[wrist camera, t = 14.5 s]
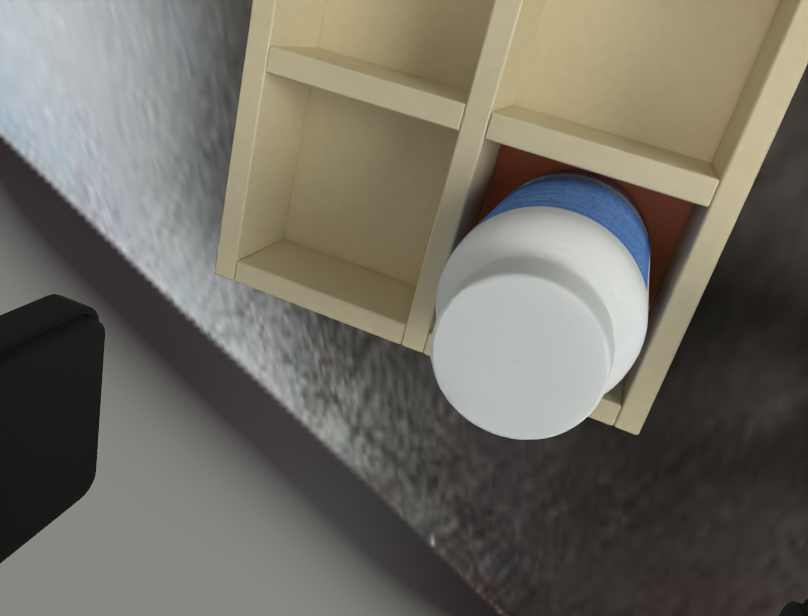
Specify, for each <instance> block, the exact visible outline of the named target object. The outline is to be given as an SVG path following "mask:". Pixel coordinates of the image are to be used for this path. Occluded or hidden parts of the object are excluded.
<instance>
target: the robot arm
mask: <svg viewBox="0 0 808 616" xmlns="http://www.w3.org/2000/svg"><path fill="white" fill-rule="evenodd" d="M104 339H105V329H104V327H103V324H101V323H100V322H99V317H98V315H97V313H96V311H95V310H94V309H93V308H91V307H89V306H86V305H84V304H81V303H79V302H76V301H73V300H71V299H68V298H66V297H63V296H61V295H56V294H53V295H49V296H46V297H43V298H41V299H39V300H36V301H34V302H31V303H29V304H27V305H24V306H22V307H19V308H17V309H15V310H13V311H10V312H8V313H5V314H3V315H0V563H1V562H2V561H4V560H5V559H6V558H7V557H9V556H10V555H11V554H12V553H14V552H15V551H16V550H17V549H19V548H20V547H21V546H22V545H24V544H25V543H26V542H27V541H29V540H30V539H31V538H32V537H34V536H35V535H36V534H37V533H38V532H40V531H41V530H42V529H43V528H45V527H46V526H47V525H48V524H50V523H51V522H52V521H53V520H55V519H56V518H57V517H58V516H60V515H61V514H62V513H63V512H64V511H66V510H67V509H68V508H70V507H71V506H72V505H73V504H74V503H76V502H77V501H78V500H80V499H81V498H82V497H83V496H84V495H85V494H86V492H87V491H88V490H89V488H90V487H91V484H92V483H93V480H94V478H95V473H96V460H97V446H98V431H99V415H100V401H101V385H102V371H103V354H104ZM779 616H808V599H807V600H806V601H805V602H804V603H803V604H800V603H798V602H795V601H791V602H789V603H788V604H787V605H786V606H785V607H784V608H783V610H782V611H781V613H780V614H779Z"/></svg>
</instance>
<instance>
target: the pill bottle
mask: <svg viewBox="0 0 808 616" xmlns="http://www.w3.org/2000/svg"><path fill="white" fill-rule="evenodd" d="M650 259H651V243H650V235H649V230H648V227H647V223H646V220H645V218H644V216H643V214H642V212H641V210H640V208H639V207H638V205H637V204H636V202H635V201H634V200H633V199H632V197H631V196H630V195H629V194H628V193H627V192H626V191H625V190H623V189H622V188H621V187H620V186H618V185H617V184H615V183H614V182H612V181H611V180H609V179H607V178H605V177H603V176H600V175H598V174H595V173H591V172H588V171H583V170H574V169H564V170H555V171H550V172H546V173H543V174H540V175H538V176H535V177H533V178H531V179H529V180H527V181H525V182H524V183H522V184H521V185H519V186H518V187H517V188H515V189H514V190H513V191H512V192H511V193H510V194H508V195H507V196H506V197H505V198H504V199H503V200H502V201H501V202H500V203H499V204H498V206H497V207H495V208H494V209H493V210H492V211H491V212H490V213H489V214H488V215H487V216H486V217H485V218H484V219H483V220H482V221H481V222H480V223H479V224H478V225H477V226H475V227H474V228H473V229H472V230H471V231H470V232H469V233H468V234H467V235H466V237H465V238H464V239H463V240H462V241H461V243H460V244H459V245H458V246H457V248H456V249H455V250H454V252H453V253H452V255H451V256H450V258H449V260H448V262H447V264H446V266H445V268H444V270H443V272H442V274H441V277H440V280H439V284H438V289H437V294H436V322H435V324H434V328H433V332H432V337H431V348H430V356H431V362H432V366H433V371H434V374H435V377H436V380H437V383H438V385H439V387H440V389H441V390H442V392H443V393H444V395H445V397H446V398H447V400H448V401H449V402H450V403H451V404H452V405H453V406H454V408H455V409H456V410H457V411H458V412H459V413H460V414H461V415H462V416H464V417H465V418H466V419H467V420H469V421H470V422H472V423H473V424H475V425H476V426H478V427H480V428H482V429H484V430H486V431H488V432H491V433H493V434H496V435H499V436H503V437H507V438H512V439H521V440H526V439H527V440H530V439H543V438H548V437H553V436H556V435H559V434H561V433H564V432H566V431H568V430H569V429H571V428H573V427H575V426H576V425H578V424H579V423H580V422H582V421H583V420H584V419H585V418H586V417H588V416H589V415H590V414H591V413H592V411H593V410H594V409H595V408H596V406H597V405H598V403H599V402H600V400H601V398H602V397H603V395H604V394H605V393H607V392H608V391H610V390H611V389H612V388H613V387H614V386H615V385H617V384H618V383H619V382H620V381H621V380H622V378H623V377H624V376H625V375H626V374H627V372H628V371H629V370H630V368H631V367H632V365H633V364H634V362H635V360H636V359H637V357H638V355H639V353H640V351H641V348H642V346H643V343H644V340H645V335H646V331H647V324H648V300H649V272H650Z"/></svg>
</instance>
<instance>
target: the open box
mask: <svg viewBox="0 0 808 616" xmlns="http://www.w3.org/2000/svg"><path fill="white" fill-rule="evenodd" d="M807 64H808V0H253V4H252V11H251V18H250V25H249V32H248V39H247V47H246V54H245V61H244V68H243V75H242V82H241V89H240V96H239V103H238V110H237V117H236V124H235V131H234V138H233V146H232V153H231V160H230V167H229V174H228V181H227V188H226V195H225V202H224V209H223V216H222V223H221V230H220V237H219V245H218V252H217V259H216V266H215V274H217V275H220V276H223V277H225V278H228V279H230V280H235V281H236V282H239V283H242V284H244V285H247V286H249V287H252V288H255V289H257V290H260V291H262V292H265V293H268V294H270V295H273V296H275V297H278V298H281V299H283V300H286V301H288V302H291V303H294V304H296V305H299V306H301V307H304V308H307V309H309V310H312V311H314V312H317V313H320V314H322V315H325V316H327V317H330V318H333V319H335V320H338V321H340V322H343V323H346V324H348V325H351V326H353V327H356V328H359V329H361V330H364V331H366V332H369V333H372V334H374V335H377V336H379V337H382V338H385V339H387V340H390V341H392V342H395V343H398V344H401V342H402V345H403V346H406V347H408V348H411V349H413V350H416V351H419V352H423V351H424V354H426V355H429V356H430V348H431V337H432V332H433V328H434V324H435V322H436V294H437V289H438V284H439V280H440V277H441V274H442V272H443V270H444V268H445V266H446V264H447V262H448V260H449V258H450V256H451V255H452V253H453V252H454V250H455V249H456V248H457V246H458V245H459V244H460V243H461V241H462V240H463V239H464V238H465V237H466V235H467V234H468V233H469V232H470V231H471V230H472V229H473V228H474V227H475V226H477V225H478V224H479V223H480V222H481V221H482V220H483V219H484V218H485V217H486V216H487V215H488V214H489V213H490V212H491V211H492V210H493V209H494V208H495V207H497V206H498V204H499V203H500V202H501V201H502V200H503V199H504V198H505V197H506V196H507V195H508V194H510V193H511V192H512V191H513V190H514V189H515V188H517V187H518V186H519V185H521V184H522V183H524V182H525V181H527V180H529V179H531V178H533V177H535V176H538V175H540V174H543V173H546V172H550V171H555V170H564V169H574V170H583V171H588V172H591V173H595V174H598V175H600V176H603V177H605V178H607V179H609V180H611V181H612V182H614V183H615V184H617V185H618V186H620V187H621V188H622V189H623V190H625V191H626V192H627V193H628V194H629V195H630V196H631V197H632V199H633V200H634V201H635V202H636V204H637V205H638V207H639V208H640V210H641V212H642V214H643V216H644V218H645V220H646V223H647V227H648V230H649V235H650V243H651V259H650V272H649V300H648V324H647V331H646V335H645V340H644V343H643V346H642V348H641V351H640V353H639V355H638V357H637V359H636V360H635V362H634V364H633V365H632V367H631V368H630V370H629V371H628V372H627V374H626V375H625V376H624V377H623V378H622V380H621V381H620V382H619V383H618V384H617V385H615V386H614V387H613V388H612V389H611V390H610V391H608V392H607V393H605V394H604V395H603V397H602V398H601V400H600V402H599V403H598V405H597V406H596V408H595V409H594V410H593V411H592V413H591V414H590V415H589V416H588V417H590V418H593V419H595V420H598V421H601V422H603V423H606V424H608V425H613V424H614V426H615V427H616V428H619V429H622V430H624V431H627V432H630V433H632V434H635V435H638V434H639V433H640V431H641V428H642V426H643V424H644V422H645V420H646V417H647V415H648V413H649V411H650V409H651V406H652V404H653V402H654V400H655V398H656V396H657V393H658V391H659V389H660V387H661V385H662V382H663V380H664V378H665V376H666V374H667V371H668V369H669V367H670V365H671V363H672V360H673V358H674V356H675V354H676V352H677V349H678V347H679V345H680V343H681V341H682V338H683V336H684V334H685V332H686V330H687V327H688V325H689V323H690V321H691V319H692V317H693V314H694V312H695V310H696V308H697V306H698V303H699V301H700V299H701V297H702V295H703V292H704V290H705V288H706V286H707V284H708V281H709V279H710V277H711V275H712V273H713V270H714V268H715V266H716V264H717V262H718V259H719V257H720V255H721V253H722V251H723V248H724V246H725V244H726V242H727V240H728V238H729V235H730V233H731V231H732V229H733V227H734V224H735V222H736V220H737V218H738V216H739V213H740V211H741V209H742V207H743V205H744V202H745V200H746V198H747V196H748V194H749V191H750V189H751V187H752V185H753V183H754V180H755V178H756V176H757V174H758V172H759V169H760V167H761V165H762V163H763V161H764V159H765V156H766V154H767V152H768V150H769V148H770V145H771V143H772V141H773V139H774V137H775V134H776V132H777V130H778V128H779V126H780V123H781V121H782V119H783V117H784V115H785V112H786V110H787V108H788V106H789V104H790V101H791V99H792V97H793V95H794V93H795V90H796V88H797V86H798V84H799V82H800V80H801V77H802V75H803V73H804V71H805V69H806V66H807Z"/></svg>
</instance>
